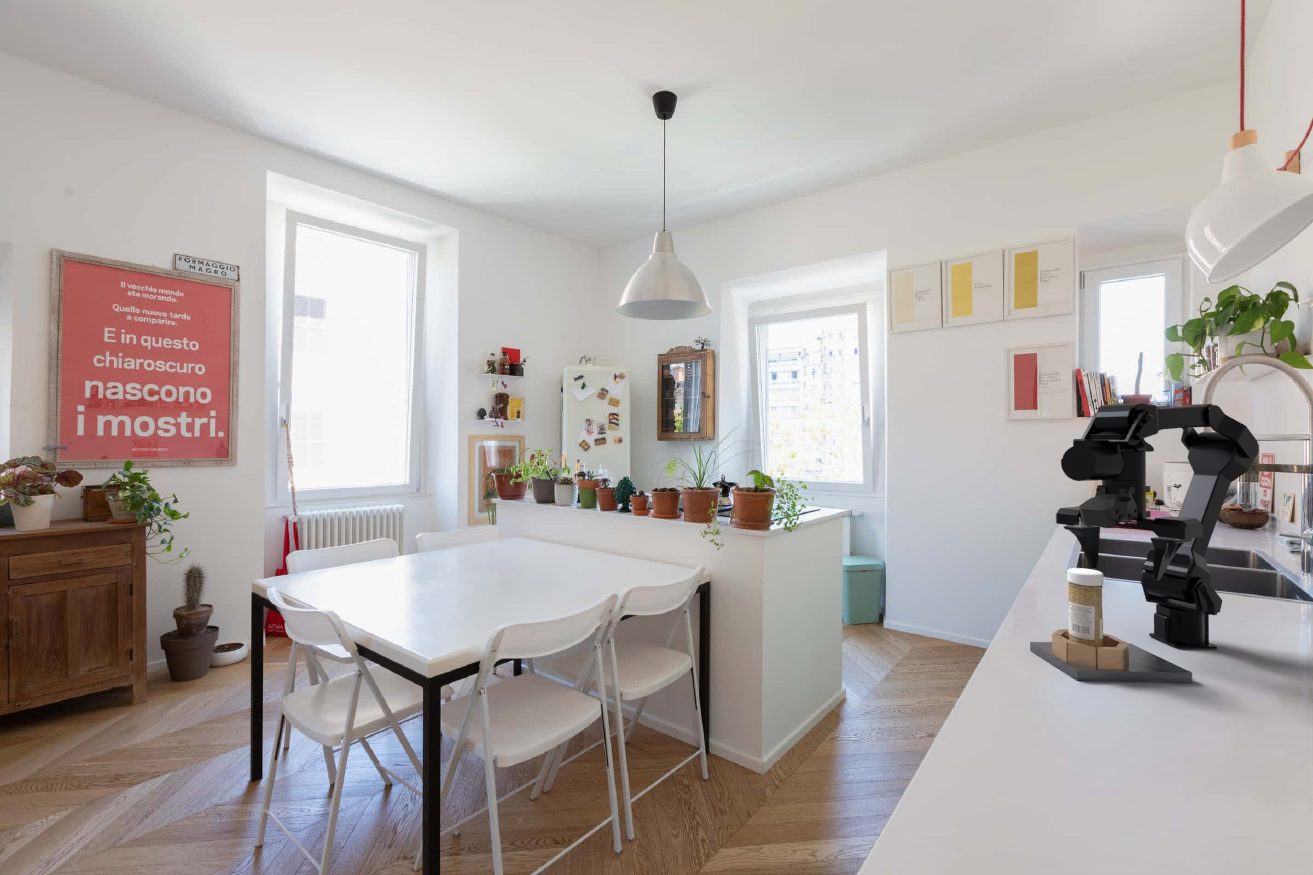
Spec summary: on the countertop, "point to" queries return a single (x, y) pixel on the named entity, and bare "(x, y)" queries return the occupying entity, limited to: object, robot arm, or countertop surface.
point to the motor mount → (1107, 661)
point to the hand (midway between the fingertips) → (1123, 573)
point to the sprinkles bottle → (1085, 606)
